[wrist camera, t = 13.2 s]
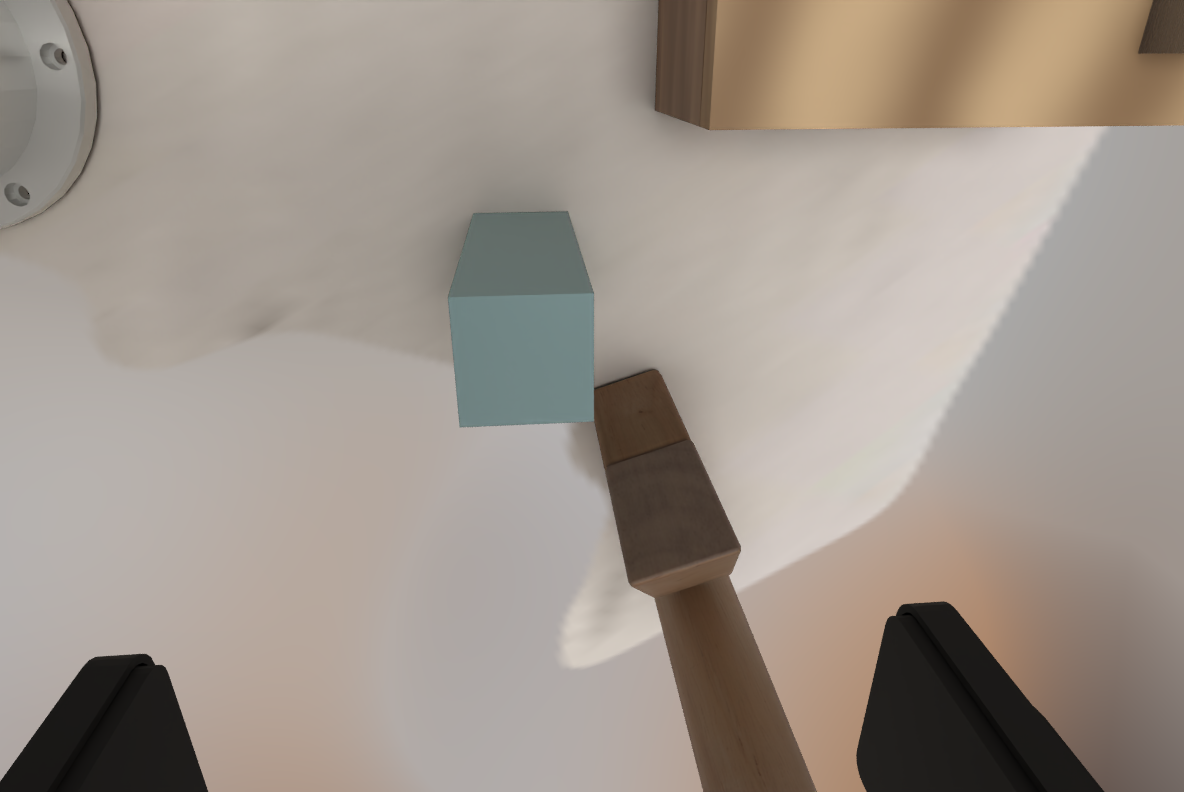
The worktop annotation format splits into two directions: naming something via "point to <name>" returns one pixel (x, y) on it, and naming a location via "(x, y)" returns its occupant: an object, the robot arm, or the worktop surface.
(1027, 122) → the lid
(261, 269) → the worktop surface
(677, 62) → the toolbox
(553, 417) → the teal rectangular block
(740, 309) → the worktop surface
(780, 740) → the wooden block structure
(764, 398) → the worktop surface
